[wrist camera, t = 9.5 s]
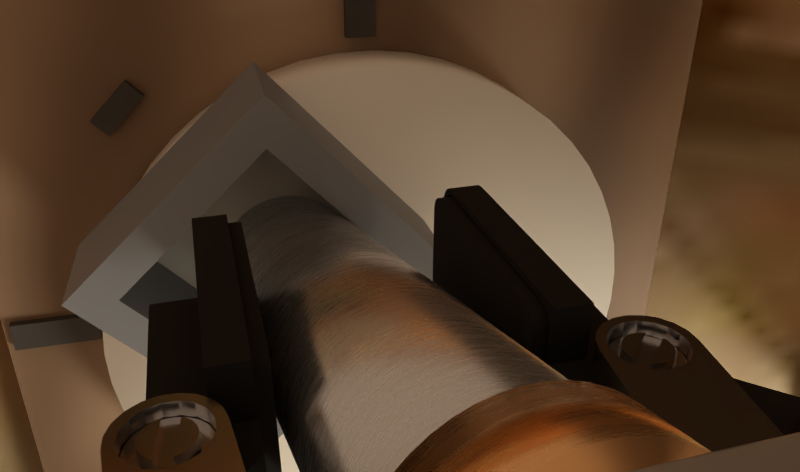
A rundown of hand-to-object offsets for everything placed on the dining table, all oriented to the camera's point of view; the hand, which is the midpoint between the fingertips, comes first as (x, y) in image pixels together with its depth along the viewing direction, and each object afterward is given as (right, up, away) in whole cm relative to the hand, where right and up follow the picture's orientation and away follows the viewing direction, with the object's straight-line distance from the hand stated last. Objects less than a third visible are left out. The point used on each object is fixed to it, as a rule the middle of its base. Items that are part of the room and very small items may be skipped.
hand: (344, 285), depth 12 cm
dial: (0, -1, +8) cm, 8 cm away
